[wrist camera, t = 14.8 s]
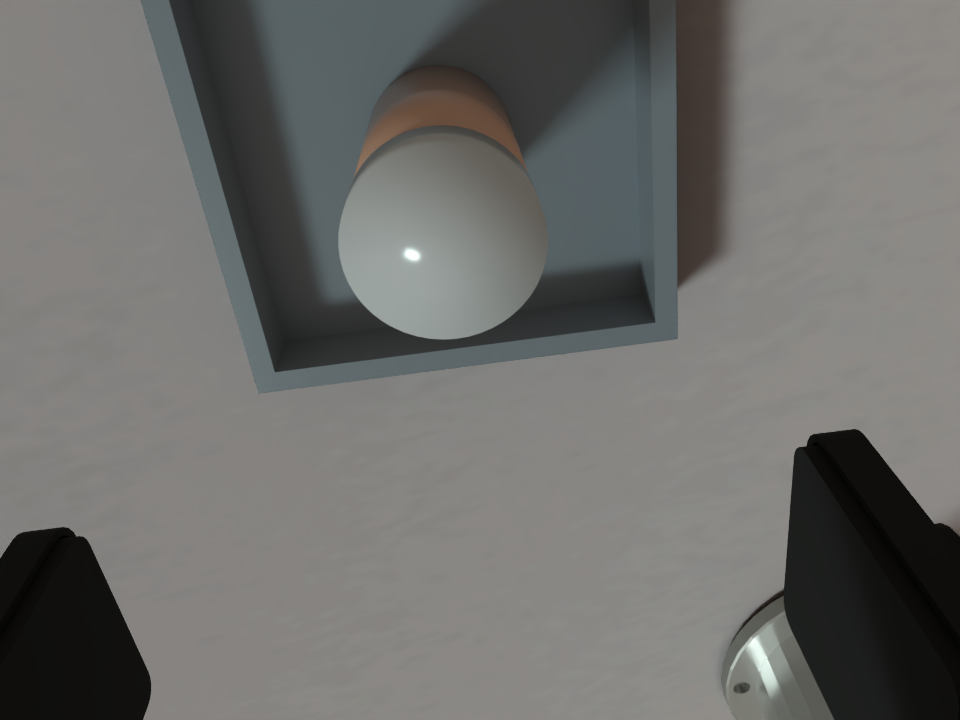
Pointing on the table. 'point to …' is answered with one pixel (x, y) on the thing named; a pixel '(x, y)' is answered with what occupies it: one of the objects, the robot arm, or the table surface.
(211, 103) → the slate tray
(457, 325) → the shaker
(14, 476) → the table surface
